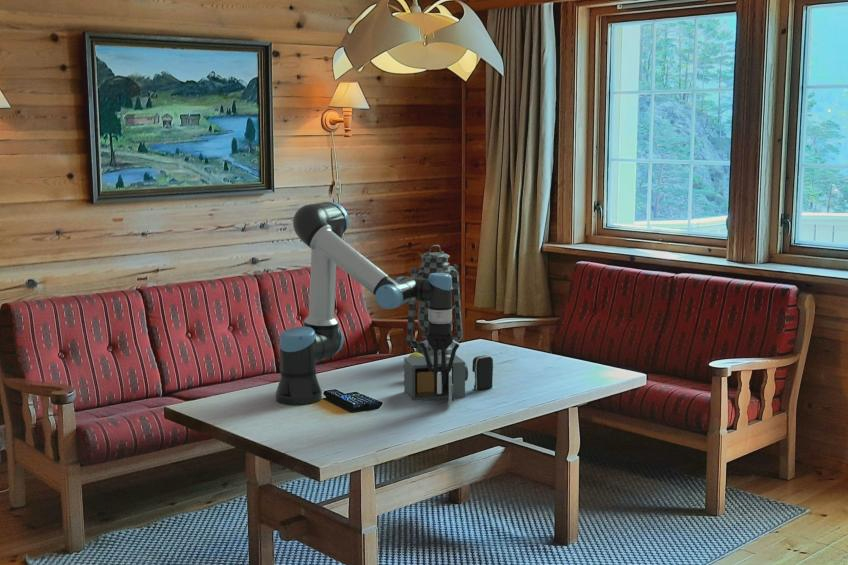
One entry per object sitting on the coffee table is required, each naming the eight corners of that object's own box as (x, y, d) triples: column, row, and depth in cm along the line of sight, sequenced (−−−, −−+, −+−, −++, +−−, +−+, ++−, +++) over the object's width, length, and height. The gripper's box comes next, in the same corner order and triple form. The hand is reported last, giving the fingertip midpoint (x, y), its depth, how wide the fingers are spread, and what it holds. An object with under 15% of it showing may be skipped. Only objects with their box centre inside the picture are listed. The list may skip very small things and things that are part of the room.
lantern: (416, 370, 377) (416, 249, 370) (396, 359, 393) (395, 244, 386) (473, 363, 388) (474, 246, 380) (452, 353, 404) (452, 240, 396)
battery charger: (486, 385, 355) (486, 353, 353) (493, 387, 352) (493, 355, 350) (470, 388, 351) (470, 356, 349) (477, 391, 348) (477, 358, 346)
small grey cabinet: (413, 401, 336) (412, 363, 334) (404, 391, 348) (404, 355, 346) (470, 396, 341) (470, 359, 339) (460, 387, 353) (460, 351, 351)
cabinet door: (453, 404, 327) (453, 376, 326) (448, 404, 328) (448, 376, 326) (453, 394, 339) (453, 367, 338) (449, 394, 339) (449, 367, 338)
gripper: (418, 323, 323) (418, 394, 327) (458, 324, 321) (458, 396, 325) (422, 318, 330) (421, 388, 334) (461, 319, 328) (460, 390, 332)
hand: (439, 392), depth 330 cm, fingers closed
